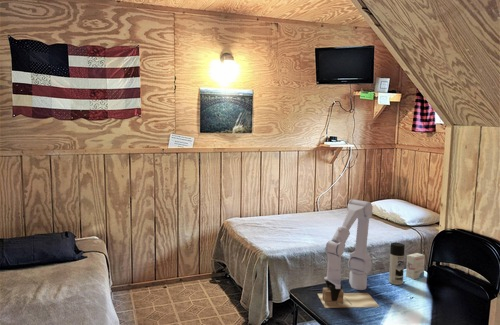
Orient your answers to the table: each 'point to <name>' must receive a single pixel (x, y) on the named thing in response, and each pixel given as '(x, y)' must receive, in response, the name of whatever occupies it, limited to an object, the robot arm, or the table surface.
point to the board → (352, 301)
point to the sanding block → (327, 296)
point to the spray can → (396, 263)
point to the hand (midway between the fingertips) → (332, 298)
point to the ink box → (415, 265)
